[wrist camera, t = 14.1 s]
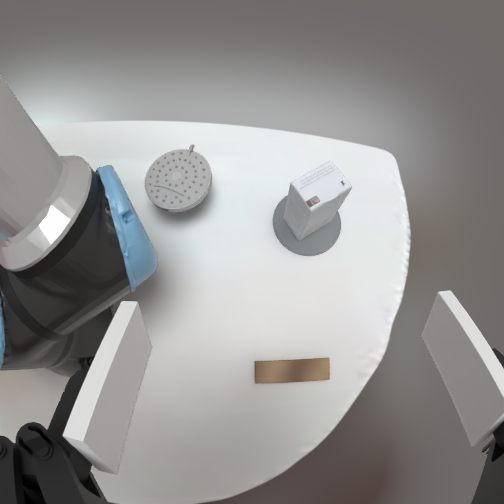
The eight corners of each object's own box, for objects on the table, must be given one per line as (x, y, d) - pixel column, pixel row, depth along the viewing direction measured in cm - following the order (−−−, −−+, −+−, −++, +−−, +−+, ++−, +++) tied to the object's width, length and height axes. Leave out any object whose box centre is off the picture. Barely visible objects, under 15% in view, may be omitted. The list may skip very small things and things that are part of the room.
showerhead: (223, 152, 41) (190, 215, 38) (227, 177, 48) (200, 234, 45) (164, 135, 42) (130, 193, 39) (175, 161, 49) (147, 213, 46)
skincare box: (314, 199, 46) (331, 156, 34) (332, 223, 45) (355, 185, 33) (280, 219, 45) (288, 179, 33) (298, 244, 44) (311, 211, 32)
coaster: (274, 256, 44) (274, 255, 43) (271, 192, 47) (272, 190, 46) (343, 254, 44) (344, 253, 43) (336, 192, 47) (336, 190, 46)
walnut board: (255, 382, 39) (255, 383, 39) (255, 361, 40) (255, 361, 39) (328, 378, 39) (329, 379, 39) (328, 357, 40) (329, 358, 39)
